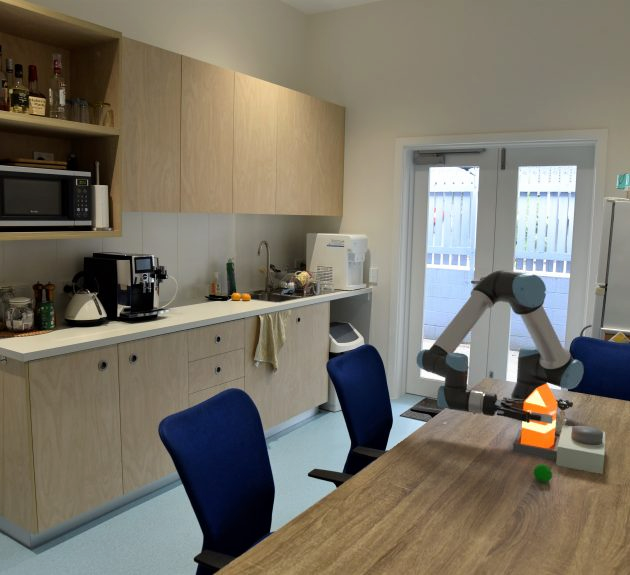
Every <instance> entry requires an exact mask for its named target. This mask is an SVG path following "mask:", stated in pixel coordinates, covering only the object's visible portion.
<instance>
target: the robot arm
mask: <svg viewBox="0 0 630 575" xmlns="http://www.w3.org/2000/svg"><path fill="white" fill-rule="evenodd" d="M546 292H547V288H546V284H545V281H543V279H542V277H540V276H538V275H537V274H533V273H529V272H521V271H511V270H506V269H505V270H504V269H503V270H502V269H500V270H495V271H493V272H491V273H490V274H488V275H487V276H485V277H484V278H482V279H481V280H480V281H479V282H478V283H477V284H476V285H475V286H474V287H473V288H472V290H471V291H470V297H469V298H468V299H467V301H466V302H465V303H464V305H462V307H461V308H460V309H459V311H458V312H457V314H455V316H454V318H453V319H452V320H451V321H450V322H449V323H448V325H447V326H446V327H445V329H444V330H443V331H442V333H440V335H439V336H438V337H437V339H436V341H435V342H434V343H433V344H432V345H431V347H430V348H429V349H426V348H425V349H422V350H420V351H419V352H418V354H417V356H416V364H417V366H418V367H419V368H420V369H421V370H423V371H426V372H427V373H430V374H434V375H437V376H439V377H442V378H444V385H441V386H439V388H438V389H437V395H436V401H437V405H438V406H439V407H440V408H444V409H448V410H453V411H459V412H466V413H472V414H473V415H476V414H480V415H481V414H483V415H484V416H489V417H495V416H497V417H499V416H500V417H505V418H509V419H513V420H517V421H521V422H522V421H524V422H527V423H530V420H532V421H538V422H544V423H550V424H552V419H553V415H550V414H544V413H538V412H532V411H531V414H530V412H527V411H524V410H523V408H524V401H525V400H526V399H527V398H528V397H529V396H530V395H531V394H532V393H533V392H534V390H535V389H536V388H538V387H540V386H542V385H545V384H550V385H553V386H556V387H559V388H561V389H566V390H572V389H574V388H576V387H578V385H579V384H580V382H581V381H582V379H583V375H584V370H585V369H584V364H583V362H582V361H580V360H578V359H574V358H573V357H572V354H571V353H570V350H568V349H567V348H565V347H563V345H562V343H561V341H560V339H559V337H558V335H557V333H556V331H555V329H554V327H553V325H552V323H551V320H550V319H549V316H548V314H547V312H546V310H545V308H544V306H543V305H544V304H545V300H546V297H547V293H546ZM498 302H503V303H508V304H509V306H510V307H511V310H512V312H514V314H516V315H518V316H520V318H521V319H522V322H523V324H524V326H525V328H526V330H527V332H528V334H529V336H530V338H531V339H532V342H533V343H534V345H535V346H525V347H521V348H520V349H519V351H518V356H517V370H516V372H517V374H516V383H515V386H514V388H513V390H512V392H511V396H510V397H511V398H510V397H506V396H505V397H503V398H502V399H498V395H497V394H496V393H493V392H484V391H480V390H474V389H467V388H468V377H469V356H468V355H467V354H465V353H459V352H455V351H456V350H457V348H458V347H459V346H460V345H461V344H462V342H463V341H464V340H465V338H466V337H467V335H468V334H469V333H470V332H471V331H472V329H473V328H474V326H475V325H476V324H477V323H478V321H479V320H480V319H481V318H482V316H484V314H485V313H486V311H487V310H488V309H492V308H493V307H494V305H495V304H496V303H498Z"/></svg>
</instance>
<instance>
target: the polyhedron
mask: <svg viewBox="0 0 630 575" xmlns="http://www.w3.org/2000/svg"><path fill="white" fill-rule="evenodd" d="M532 474H533V476H534V478H535V480H537V481H539V482H541V483H548V482H549V481H550V480H551V479H552V476H553V472H552V470H551V468H550V467H549V466H548V465H546V464H545V463H543V464H542V463H541V464H537V465H536V466H535V467H534V469H533V473H532Z"/></svg>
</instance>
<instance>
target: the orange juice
mask: <svg viewBox="0 0 630 575" xmlns="http://www.w3.org/2000/svg"><path fill="white" fill-rule="evenodd" d="M556 400H557V399H556V397H555V396H554V394H553V392H552V390H551V389H550V387H549V383H547V384H545V385H542V386H540V387H538V388H536V389H535V390H534V392H533V393H532V394H531V395H530V396H529V397H528V398H527V399H526V400H525V401H524V408H523V410H524V411H527V412H530V414H531V411H532V412H538V413H544V414H550V415H553V419H552V424H550V423H544V422H538V421H532V420H530V423H527V422H524V421H521V430H522V435H521V444H526V445H532V446H537V447H543V448H548V449H550V448H551V447H553V446H554V437H555V436H556V432H555V426H556V422H557V410H558V406H557V401H556Z"/></svg>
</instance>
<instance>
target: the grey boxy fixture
mask: <svg viewBox="0 0 630 575" xmlns="http://www.w3.org/2000/svg"><path fill="white" fill-rule="evenodd" d="M521 435H522V429H518V432H517V434H516V437H515V438H514V441H513V443H512V453H515V454H519V455H525V456H528V457H529V456H531V457H534V458H541V459H546V460H551V461H554V462H555V461H556V462H555V465H556V466H558V467H564V468H569V469H573V470H578V471H583V470H584V472H588V473H589V472H591V473H594V472H595V473H594V474H599V473H600V474H599V475H604V464H605V463H604V462H605V453H606V452H605V451H606V450H605V449H606V448H605V447H606V431H603V430H602V429H599V428H596V427H594V426H588V425H574V426H573V425H567V424H565V425H562V430H561V434H560V435H558V436H557V435H555V437H554V445H553V446H554V447H553V448H554V449H553V448H543V447H537V446H532V445H526V444H521Z"/></svg>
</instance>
